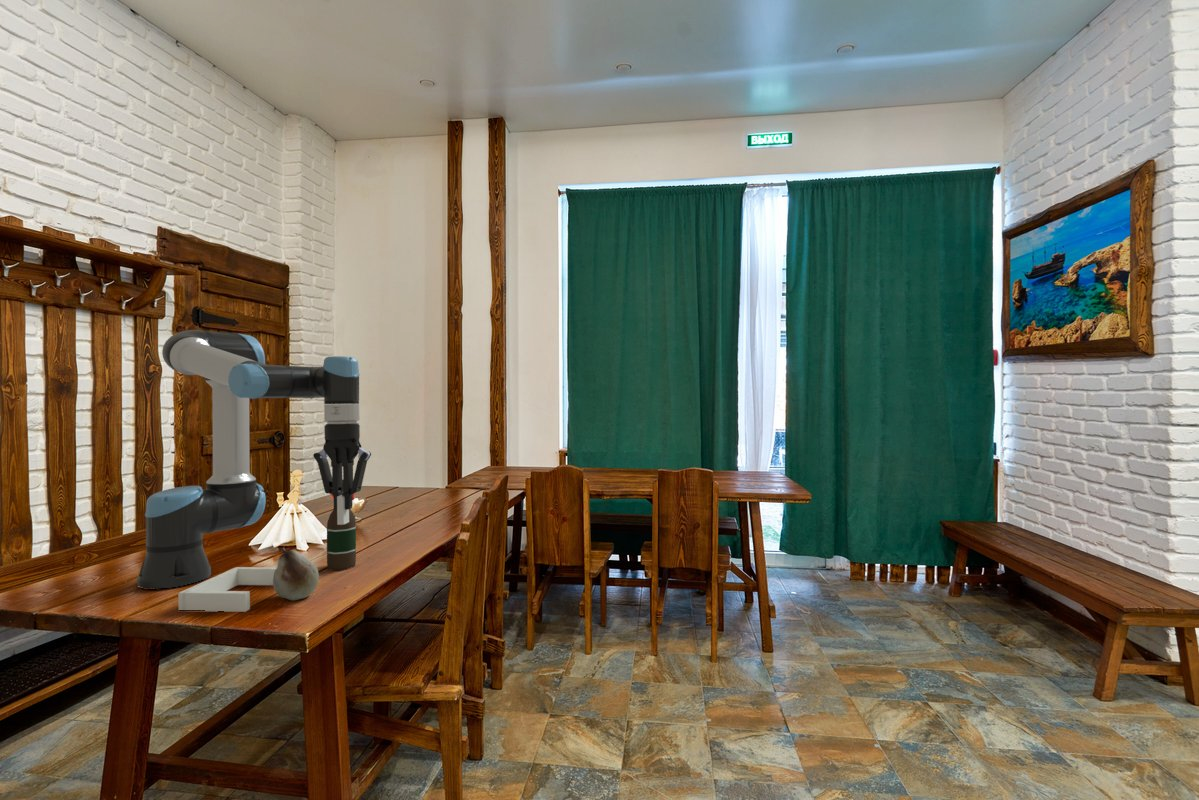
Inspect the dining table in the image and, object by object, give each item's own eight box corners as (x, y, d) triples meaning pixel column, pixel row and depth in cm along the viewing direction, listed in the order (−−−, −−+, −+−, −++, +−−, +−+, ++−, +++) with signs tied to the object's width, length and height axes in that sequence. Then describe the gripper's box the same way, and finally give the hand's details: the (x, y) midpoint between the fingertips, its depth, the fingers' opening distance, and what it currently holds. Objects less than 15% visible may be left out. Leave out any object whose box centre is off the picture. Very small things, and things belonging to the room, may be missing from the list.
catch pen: (178, 611, 125) (178, 592, 125) (236, 582, 144) (236, 567, 144) (245, 611, 125) (245, 593, 125) (294, 583, 144) (294, 567, 144)
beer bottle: (349, 570, 154) (348, 482, 154) (320, 570, 155) (320, 482, 154) (361, 562, 162) (361, 478, 162) (334, 562, 162) (334, 478, 162)
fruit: (268, 596, 135) (267, 545, 135) (310, 587, 141) (310, 538, 141) (281, 607, 127) (281, 554, 127) (325, 597, 134) (325, 546, 134)
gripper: (306, 423, 130) (307, 527, 130) (362, 423, 130) (363, 526, 130) (323, 422, 138) (324, 520, 138) (376, 421, 137) (377, 519, 137)
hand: (343, 523), depth 134 cm, fingers closed
